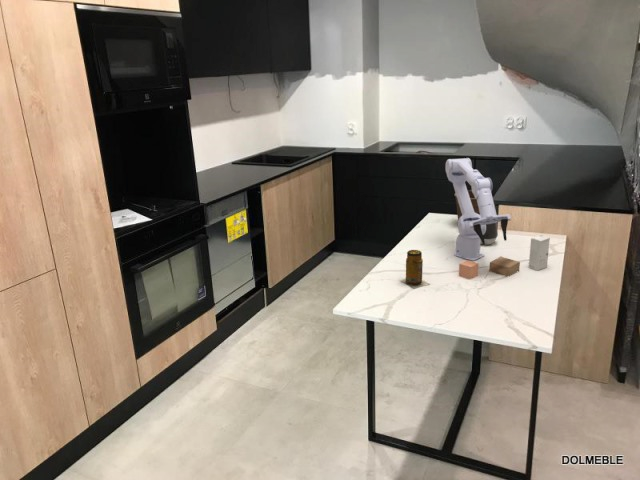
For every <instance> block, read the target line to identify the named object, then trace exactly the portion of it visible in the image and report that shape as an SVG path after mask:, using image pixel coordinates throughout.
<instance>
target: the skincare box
mask: <svg viewBox="0 0 640 480" xmlns="http://www.w3.org/2000/svg"><path fill="white" fill-rule="evenodd" d="M550 240H551V239H550V237H549V236H544V235H537V236H534V237H531V238H530V249H529V256H528V257H529V259H528V269H531V270H534V271H540V270H543V269H545V268H547V267H548V261H549V249H550Z"/></svg>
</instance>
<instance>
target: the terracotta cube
mask: <svg viewBox="0 0 640 480" xmlns="http://www.w3.org/2000/svg"><path fill="white" fill-rule="evenodd" d="M479 265H480V264H479V263H478V262H476V261H471V260H468V259H466V260H464V261H462V262H460V263H459V264H458V276H459V277H463V278H465V279H468V280H472V279H474V278H476V277H478V276H479Z"/></svg>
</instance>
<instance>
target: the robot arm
mask: <svg viewBox="0 0 640 480" xmlns="http://www.w3.org/2000/svg"><path fill="white" fill-rule="evenodd" d="M445 173H446V177H447V179H448V181H449V182H451V183H452V185H453V189H454V192H455V193H456V196H457V199H458V203H459V206H460V209H461V213H462V216H461V217H460V218H459V220H458V219H457V229H458V233H459V234H458V235H457V236H456V238H455V252H454V254H453V255H454V256H455V257H458V258H461V259H466V260H469V261H472V262H475V261H476V260H478V259H480V258H482V257H484V256H485V254H482V253H481V244H480V241H482V243H483V246H485V245H484V244H485V241H484V237H483V235H484V233H485V232H486V224H491V223H500V227H501V231H502V236H503V241H507V239H508V238H507V229H508V222H509V221H511V220H512V219H511V214H510V213H507V214H497V211H496V205H495V202H494V197H493V195H492V194H493V193H492V191H493V181H492V179H491V177H484V175H482V174H481V172H480V171H479V170H478V169H474V168H473V164H472V160H471V158H469V157H466V158H465V157H464V158H449V159H447V160H446V162H445ZM466 182H467V183H468V184H469V185H470V186H471V190H472V193H473V194H474V196H475V199H477V203H478V207H479V212H480V215H479V214H477V213H475V212H474V209H473V206H472V203H471V200H470V197H469V194H468V191H467V190H468V188H467V185H466ZM455 193H454V194H455Z"/></svg>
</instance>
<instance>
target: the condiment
mask: <svg viewBox="0 0 640 480" xmlns="http://www.w3.org/2000/svg"><path fill="white" fill-rule="evenodd" d="M422 253H423V252H422V251H420V250H419V249H409V250H407V252H406V254H407V255H406V260H405V278H404V279H401V280H400V281H401V282H403V283H404V284H406V285H408V286H409V287H411V288H412V289H414V288H415V289H417V288H421V287H425V286H428V285H430V283H429V282H427V281H425V280H424V279H423V266H424V265H423V261H424V260H423V258H422V257H423V256H422Z"/></svg>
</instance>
